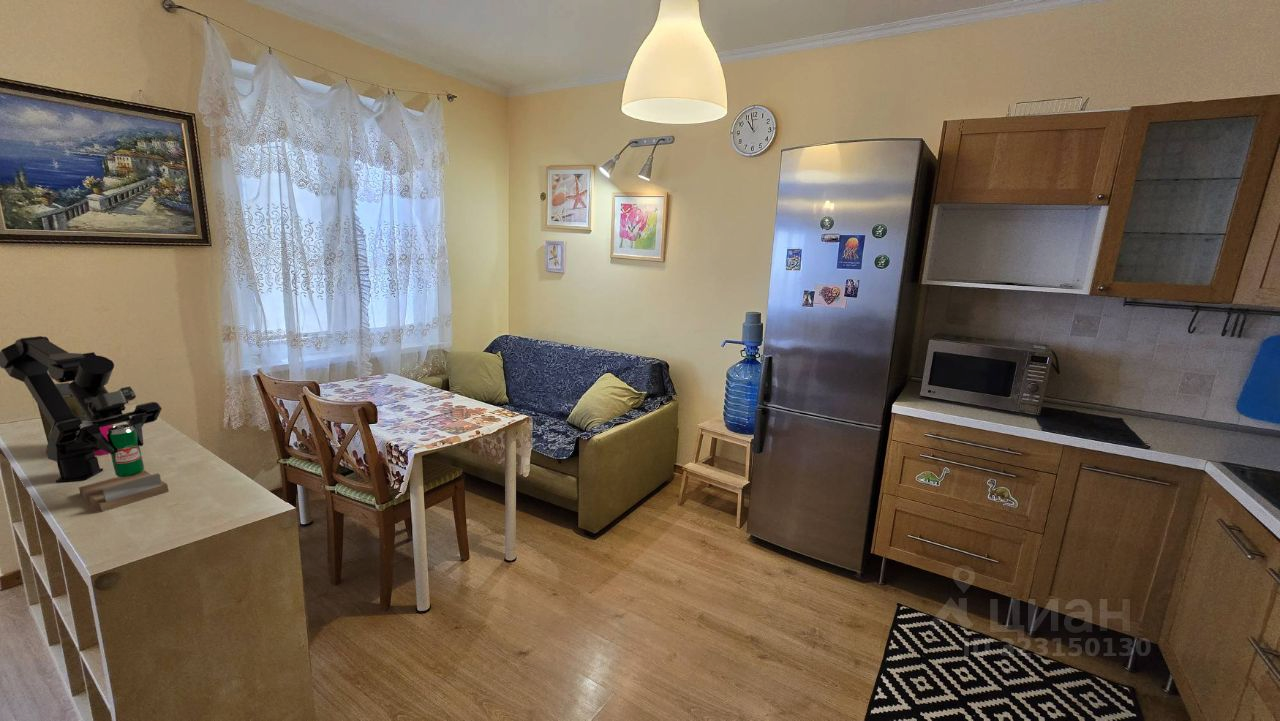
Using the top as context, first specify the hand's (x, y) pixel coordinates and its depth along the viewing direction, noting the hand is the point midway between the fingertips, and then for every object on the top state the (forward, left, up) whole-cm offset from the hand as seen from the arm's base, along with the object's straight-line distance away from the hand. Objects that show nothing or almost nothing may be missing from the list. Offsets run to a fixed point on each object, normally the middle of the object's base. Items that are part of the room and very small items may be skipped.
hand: (128, 449), depth 125 cm
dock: (-4, +3, -12) cm, 13 cm away
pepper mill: (-28, +36, -12) cm, 47 cm away
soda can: (-1, +1, -7) cm, 7 cm away
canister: (-39, +41, -12) cm, 58 cm away
